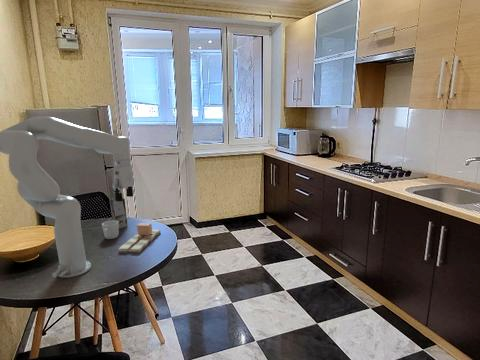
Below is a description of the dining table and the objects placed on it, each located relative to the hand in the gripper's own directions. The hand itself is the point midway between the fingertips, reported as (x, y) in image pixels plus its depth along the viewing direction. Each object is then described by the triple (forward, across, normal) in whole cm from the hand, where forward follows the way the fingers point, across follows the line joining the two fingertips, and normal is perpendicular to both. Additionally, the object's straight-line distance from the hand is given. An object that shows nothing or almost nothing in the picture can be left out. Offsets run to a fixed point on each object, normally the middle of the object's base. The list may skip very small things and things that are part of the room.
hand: (124, 198), depth 149 cm
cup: (+23, +5, +12) cm, 26 cm away
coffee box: (+22, +22, +18) cm, 36 cm away
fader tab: (+21, +7, -6) cm, 23 cm away
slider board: (+22, +2, -6) cm, 23 cm away
